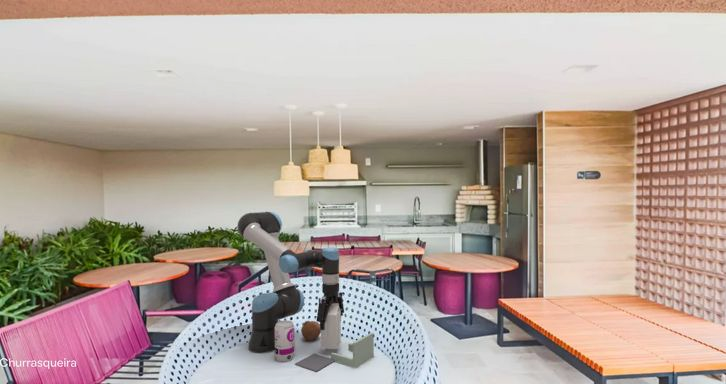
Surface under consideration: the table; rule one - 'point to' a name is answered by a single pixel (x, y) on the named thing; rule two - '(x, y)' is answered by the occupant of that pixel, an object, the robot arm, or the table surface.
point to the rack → (357, 352)
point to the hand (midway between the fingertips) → (330, 333)
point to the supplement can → (284, 341)
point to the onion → (311, 330)
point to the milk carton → (332, 328)
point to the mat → (315, 362)
